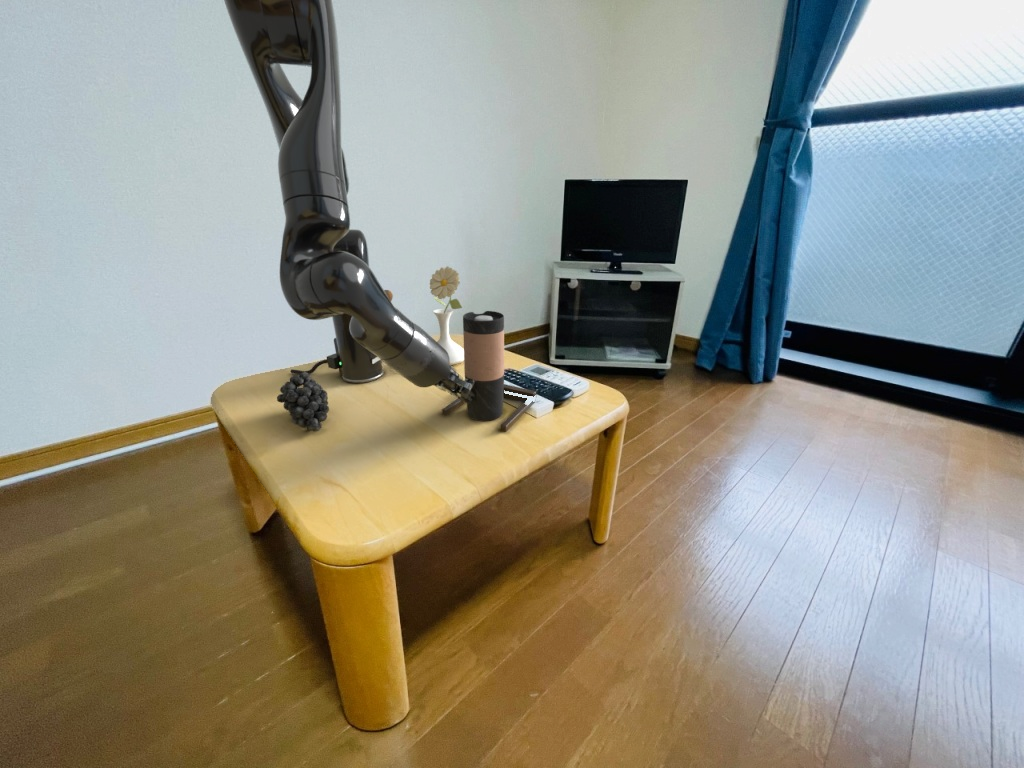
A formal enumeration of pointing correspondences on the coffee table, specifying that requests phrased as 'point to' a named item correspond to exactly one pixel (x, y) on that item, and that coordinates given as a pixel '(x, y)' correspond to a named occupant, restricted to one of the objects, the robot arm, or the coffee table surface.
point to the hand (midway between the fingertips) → (469, 398)
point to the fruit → (305, 401)
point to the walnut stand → (519, 411)
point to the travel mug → (484, 363)
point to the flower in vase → (446, 310)
